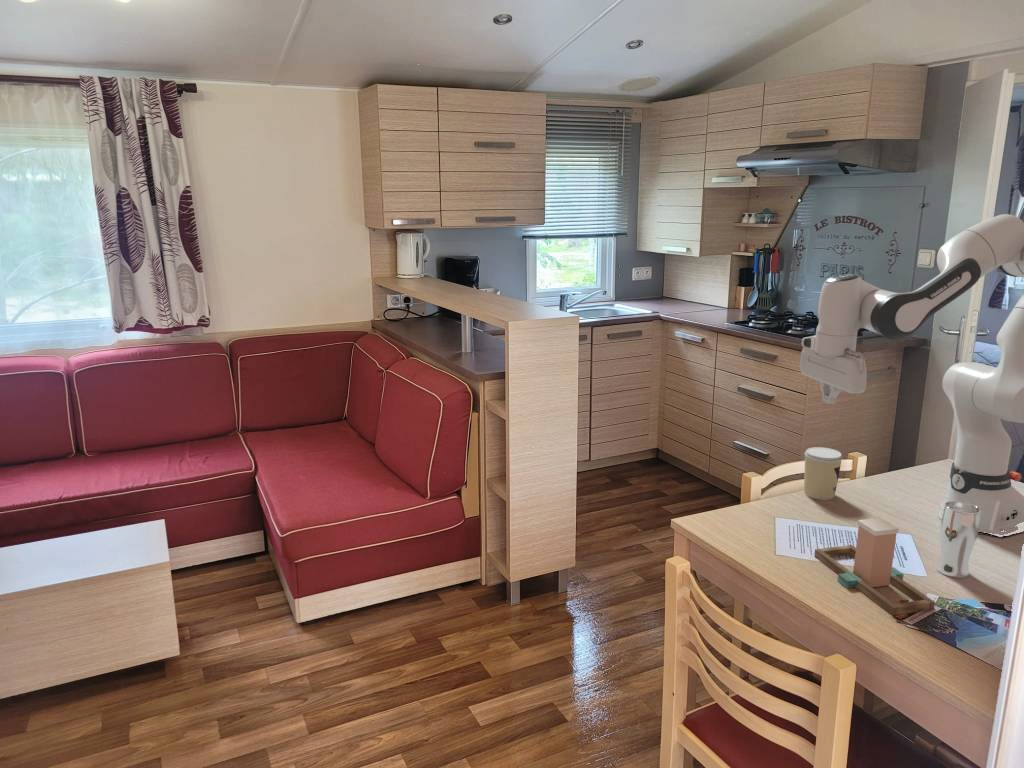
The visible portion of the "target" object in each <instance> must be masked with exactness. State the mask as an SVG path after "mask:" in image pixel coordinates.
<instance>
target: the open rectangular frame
mask: <svg viewBox="0 0 1024 768" xmlns="http://www.w3.org/2000/svg"><path fill="white" fill-rule="evenodd" d="M855 553H856V546H854V545H853V544H850V545H848V544H847V545H842V546H841V545H840V546H832V547H823V548H817V549H815V548H814V554H813V555H815V556H816V557H817V558H816V557H815V556H814V557H815V558H816V559H817V560H819V559H820V560H821V561H820V560H819V561H820V562H822V563H823V564H824V565H826V566H827V567H828V568H829V569H831V570H832V571H833V572H835V573H836V574H837V582H838V583H839V584H841V586H843V587H845V589H850V588H856V589H857V590H859V592H861V593H863V594H864V595H865V596H866V597H868V598H869V599H870V600H872V601H873V602H874V603H875V604H877V605H878V606H880V607H881V608H882V609H884V611H886V612H887V613H889V614H890V615H892V616H897V615H905V614H912V613H919V611H920V612H926V611H925V610H927V611H932V610H935V605H936V602H935V601H934V600H933V599H931V598H930V597H928V595H925V594H924V593H922V592H921V591H920V590H918V589H917V588H915V587H914V586H912V585H911V584H910V583H908V582H906V581H905V580H904V579H903V578H904V573H903V572H902V571H900V570H898V569H897V568H896V567H893V566H892V570H891V577H890V584H891V585H892V586H893V587H896V588H897V589H898V590H900V592H902V593H903V594H905V595H906V596H908V597H909V598H911V599H912V600H913V601H907V602H900V603H894V602H893V601H891V600H890V599H888V598H887V597H886V596H884V595H883V594H882V593H880V592H879V591H878V590H877V589H875V587H871V586H869V585H868V584H867V583H865V582H864V581H863V580H861V579H860V578H859V577H857V576H856V575H855V574H853V571H850V570H849V569H848V568H847V567H845V566H844V565H842V564H841V563H839V561H837V560H835V559H834V558H833V557H837V556H836V555H841V556H847V554H849V555H850V554H851V555H852V558H854V557H855ZM851 555H850V556H851ZM830 556H833V557H830Z"/></svg>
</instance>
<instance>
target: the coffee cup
mask: <svg viewBox="0 0 1024 768" xmlns="http://www.w3.org/2000/svg"><path fill="white" fill-rule="evenodd" d="M842 460H843V456H842V453H841V452H840V451H839V450H837V449H833V448H830V447H824V446H823V447H822V446H815V447H813V446H812V447H809V448H807V449H806V450H805V451H804V474H803V475H804V477H803V478H804V479H803V480H804V481H803V486H804V487H803V490H804V491H803V493H804V495H805V496H807V497H809V498H811V499H816V500H823V501H825V500H826V501H828V500H829V501H830V500H833V499H834V498H835V495H836V491H837V486H838V481H839V476H840V472H841V466H842Z"/></svg>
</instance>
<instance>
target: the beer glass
mask: <svg viewBox="0 0 1024 768" xmlns="http://www.w3.org/2000/svg"><path fill="white" fill-rule="evenodd" d="M980 512H981V510H980V508H979V507H977V506H975V505H973V504H970V503H966V502H961V501H948V502H946V503H945V506H944V510H943V514H942V519H940V526H939V527H940V529H939V533H940V534H939V535H940V554H939V559H938V561H937V562H936V566H935V567H936V570H937V571H938V572H939V574H940V573H941V574H942V575H944V576H947V577H951V578H954V579H964V578H967V577H968V576H969V575H970V570H969V561H970V557H971V553H972V551H973V549H974V546H975V543H976V541H977V538H978V534H979V533H978V531H979V524H980Z"/></svg>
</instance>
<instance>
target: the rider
mask: <svg viewBox="0 0 1024 768" xmlns="http://www.w3.org/2000/svg"><path fill="white" fill-rule="evenodd" d="M857 526H858V529H857V531H858V532H857V536H856V537H857V538H856V546H855V548H856V553H855V558H854V563H853V568H852V569H853V571H852V573H853V574H855V575H856V576H857V577H859V578H860V579H861V580H863V581H864V582H865V583H867V584H868V585H869V586H871V587H872V588H876V587H878V588H879V587H885V586H890V584H891V583H890V577H891V570H892V567H893V561H894V554H895V548H896V540H897V534H899V527H897V526H895V525H893V524H891V523H890V522H888V521H886V520H885V519H884V518H881V517H877V518H867V519H865V518H864V519H858V520H857Z"/></svg>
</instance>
